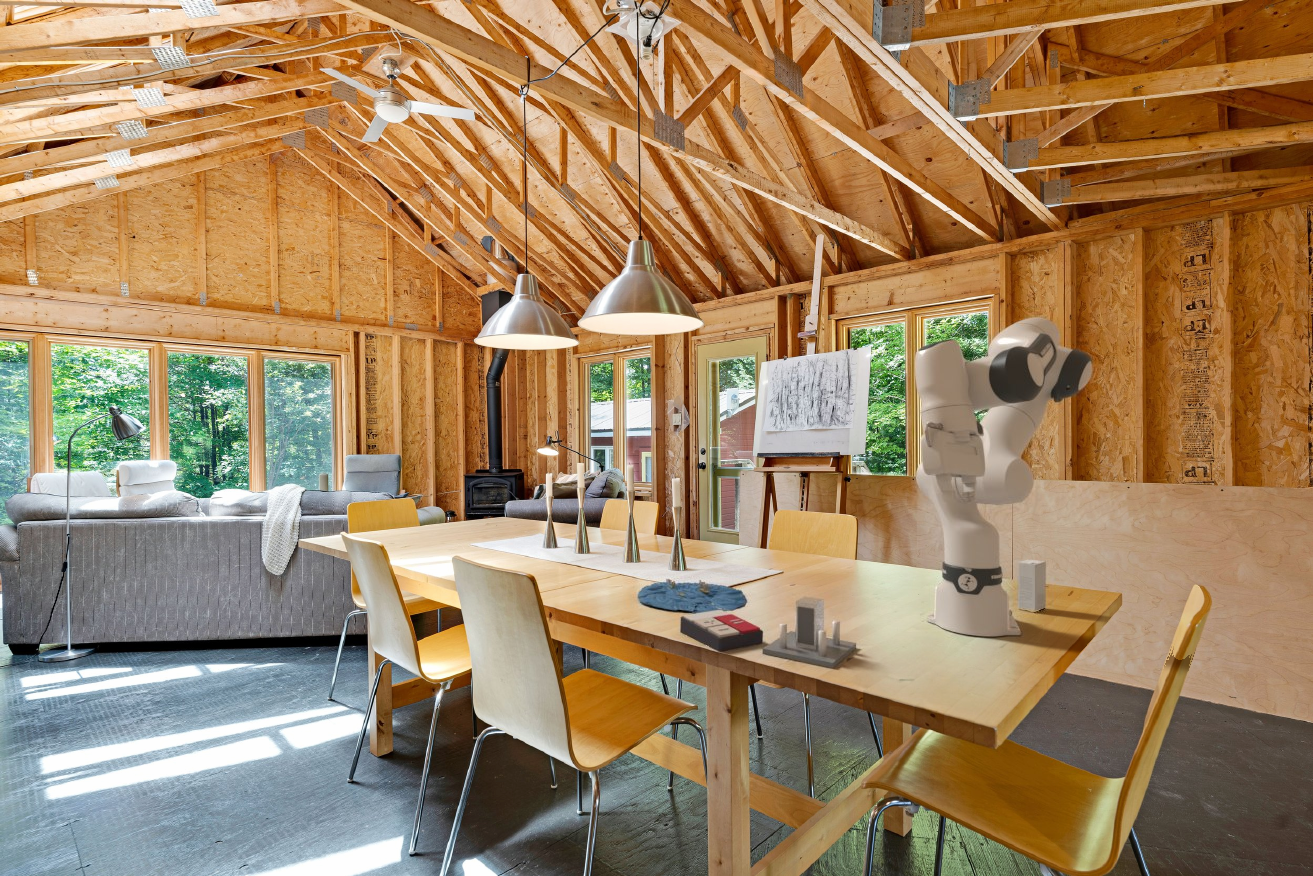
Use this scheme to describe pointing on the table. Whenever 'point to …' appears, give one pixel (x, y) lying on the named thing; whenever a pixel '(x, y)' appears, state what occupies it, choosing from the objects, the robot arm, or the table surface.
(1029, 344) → the robot arm
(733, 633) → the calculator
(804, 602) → the block
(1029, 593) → the skincare box
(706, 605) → the blue sea diorama
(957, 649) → the table surface
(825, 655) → the pin tray
